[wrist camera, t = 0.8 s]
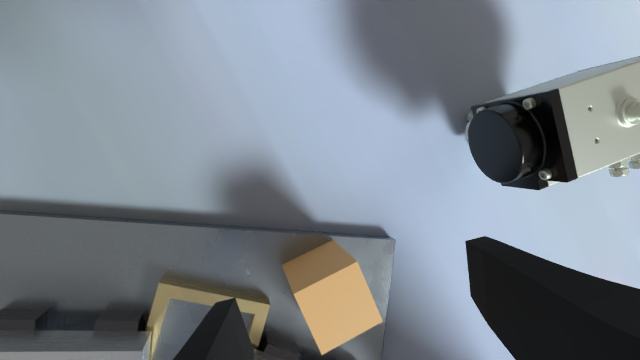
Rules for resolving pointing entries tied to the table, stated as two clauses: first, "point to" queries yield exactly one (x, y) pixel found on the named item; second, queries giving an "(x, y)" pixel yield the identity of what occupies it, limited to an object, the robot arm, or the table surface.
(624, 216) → the table surface
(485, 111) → the pneumatic valve
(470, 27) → the table surface
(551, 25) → the table surface
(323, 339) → the tan rectangular block
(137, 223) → the shaft bench
